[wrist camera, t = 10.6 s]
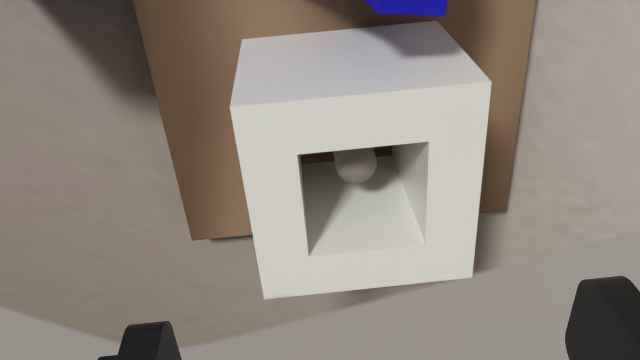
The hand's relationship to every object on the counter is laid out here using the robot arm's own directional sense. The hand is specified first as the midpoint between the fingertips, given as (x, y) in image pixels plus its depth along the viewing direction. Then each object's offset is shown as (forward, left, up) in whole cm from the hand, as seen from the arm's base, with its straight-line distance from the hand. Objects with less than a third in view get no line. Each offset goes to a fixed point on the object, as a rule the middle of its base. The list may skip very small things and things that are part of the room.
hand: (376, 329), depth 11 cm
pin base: (0, 0, -10) cm, 10 cm away
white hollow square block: (0, 0, -9) cm, 9 cm away
